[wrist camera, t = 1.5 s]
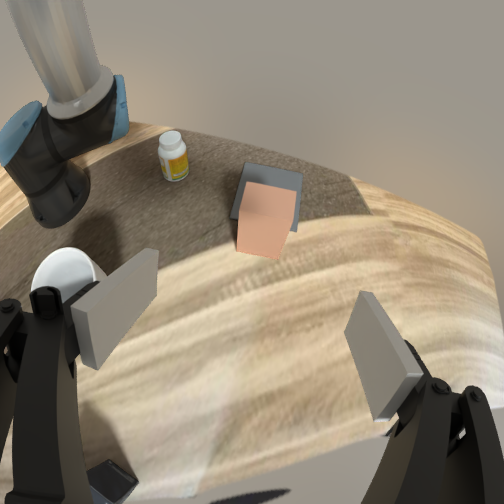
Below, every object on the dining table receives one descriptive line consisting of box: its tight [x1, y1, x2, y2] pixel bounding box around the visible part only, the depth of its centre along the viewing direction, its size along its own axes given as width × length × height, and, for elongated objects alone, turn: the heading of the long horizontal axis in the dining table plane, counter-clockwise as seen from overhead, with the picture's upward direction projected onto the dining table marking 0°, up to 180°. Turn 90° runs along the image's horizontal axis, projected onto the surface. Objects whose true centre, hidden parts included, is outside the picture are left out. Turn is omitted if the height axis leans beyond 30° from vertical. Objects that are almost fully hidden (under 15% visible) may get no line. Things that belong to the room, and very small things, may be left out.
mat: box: [230, 162, 303, 232], centre depth 51 cm, size 14×12×1 cm
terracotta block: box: [237, 182, 297, 260], centre depth 41 cm, size 5×7×12 cm
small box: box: [86, 460, 139, 504], centre depth 21 cm, size 11×6×10 cm, turn 148°
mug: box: [31, 247, 107, 303], centre depth 33 cm, size 15×11×13 cm
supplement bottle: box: [158, 131, 189, 182], centre depth 47 cm, size 5×5×10 cm
